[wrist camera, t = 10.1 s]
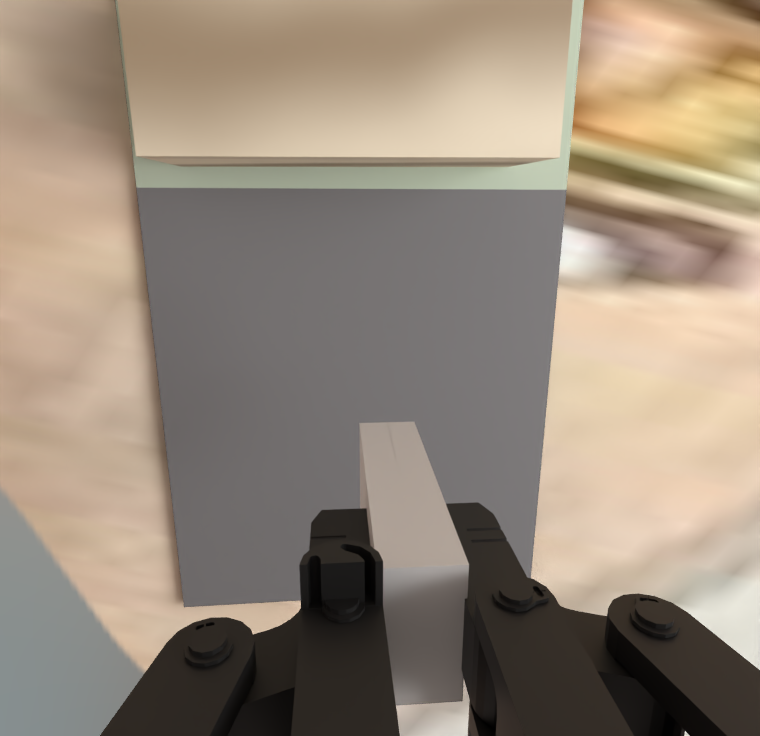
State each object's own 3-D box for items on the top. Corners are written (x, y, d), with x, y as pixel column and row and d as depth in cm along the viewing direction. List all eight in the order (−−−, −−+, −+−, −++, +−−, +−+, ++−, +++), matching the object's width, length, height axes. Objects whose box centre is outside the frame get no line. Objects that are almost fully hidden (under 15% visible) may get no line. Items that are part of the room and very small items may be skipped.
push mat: (526, 581, 27) (550, 626, 24) (186, 601, 26) (168, 650, 23) (614, -393, 17) (672, -511, 14) (68, -447, 16) (12, -589, 13)
